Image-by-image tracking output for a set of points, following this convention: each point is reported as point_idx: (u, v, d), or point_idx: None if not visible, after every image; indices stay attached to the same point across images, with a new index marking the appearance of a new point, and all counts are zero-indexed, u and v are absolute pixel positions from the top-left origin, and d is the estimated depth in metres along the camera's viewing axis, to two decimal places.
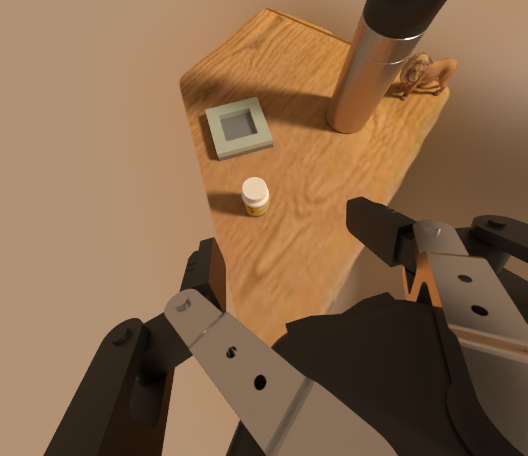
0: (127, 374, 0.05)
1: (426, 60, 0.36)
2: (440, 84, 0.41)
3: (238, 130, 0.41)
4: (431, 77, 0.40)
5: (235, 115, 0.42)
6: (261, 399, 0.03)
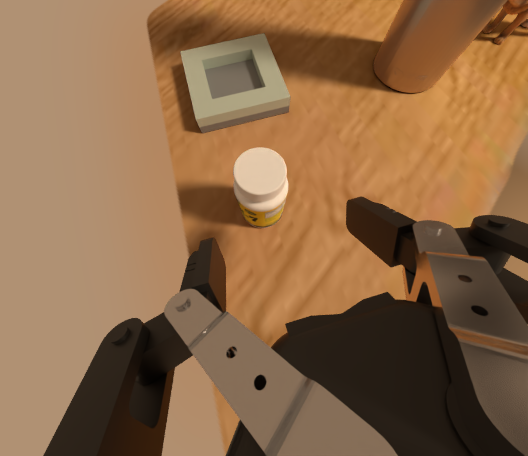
0: (127, 374, 0.05)
1: None
2: None
3: (233, 85, 0.26)
4: None
5: (229, 62, 0.26)
6: (261, 399, 0.03)
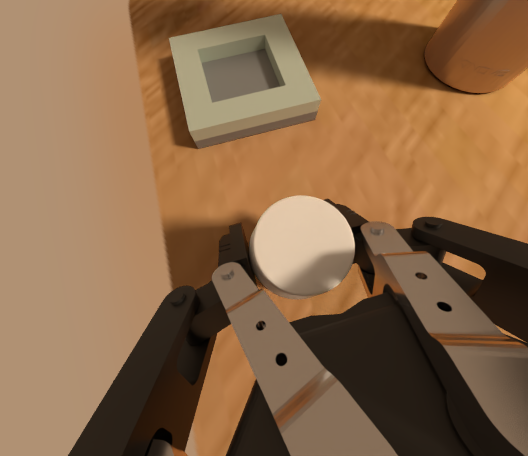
0: (178, 334, 0.06)
1: None
2: None
3: (240, 83, 0.19)
4: None
5: (234, 53, 0.20)
6: (279, 373, 0.04)
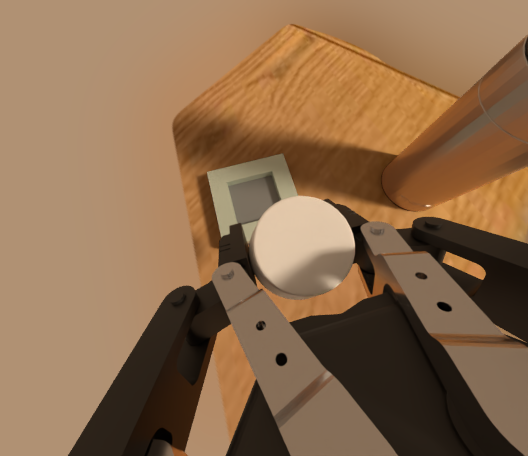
0: (178, 334, 0.06)
1: None
2: None
3: (254, 204, 0.28)
4: None
5: (251, 180, 0.29)
6: (279, 374, 0.04)
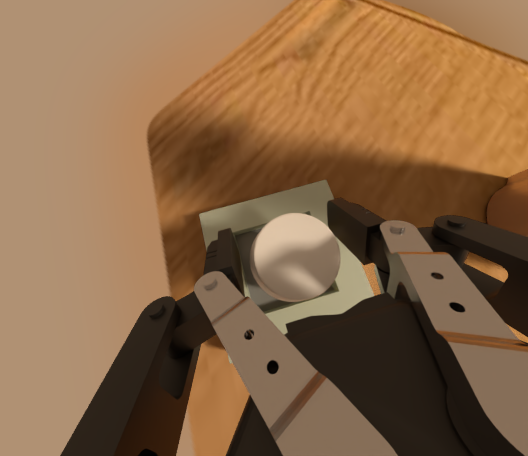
0: (159, 347, 0.05)
1: None
2: None
3: None
4: None
5: None
6: (272, 382, 0.04)
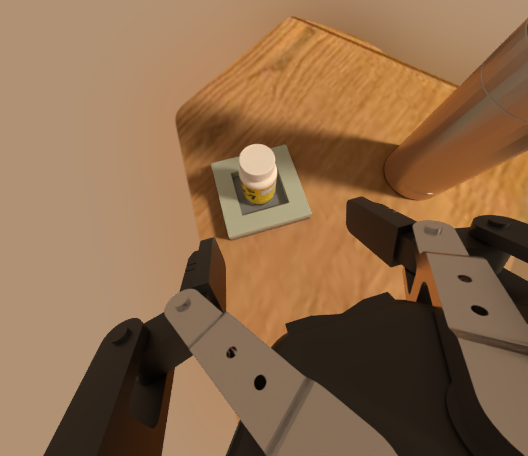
0: (127, 374, 0.05)
1: None
2: None
3: None
4: None
5: None
6: (261, 399, 0.03)
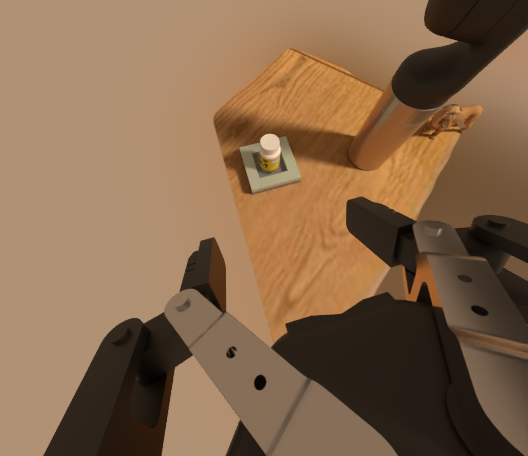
0: (127, 374, 0.05)
1: (459, 111, 0.40)
2: (466, 125, 0.46)
3: None
4: (459, 121, 0.44)
5: None
6: (261, 399, 0.03)
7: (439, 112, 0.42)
